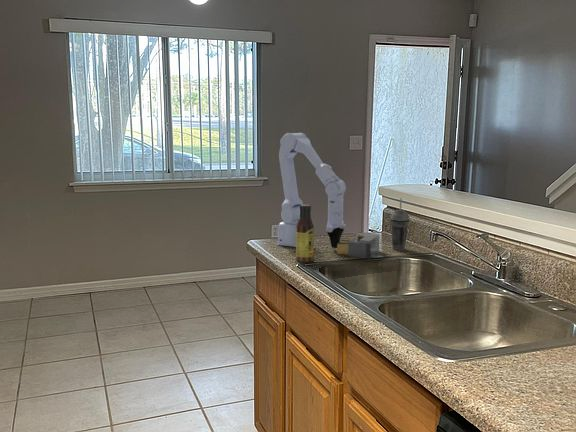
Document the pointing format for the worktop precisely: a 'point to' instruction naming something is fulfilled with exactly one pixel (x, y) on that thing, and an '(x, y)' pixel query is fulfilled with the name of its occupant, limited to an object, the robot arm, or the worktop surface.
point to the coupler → (364, 246)
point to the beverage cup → (399, 228)
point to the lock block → (343, 247)
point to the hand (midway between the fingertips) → (334, 247)
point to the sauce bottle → (305, 235)
